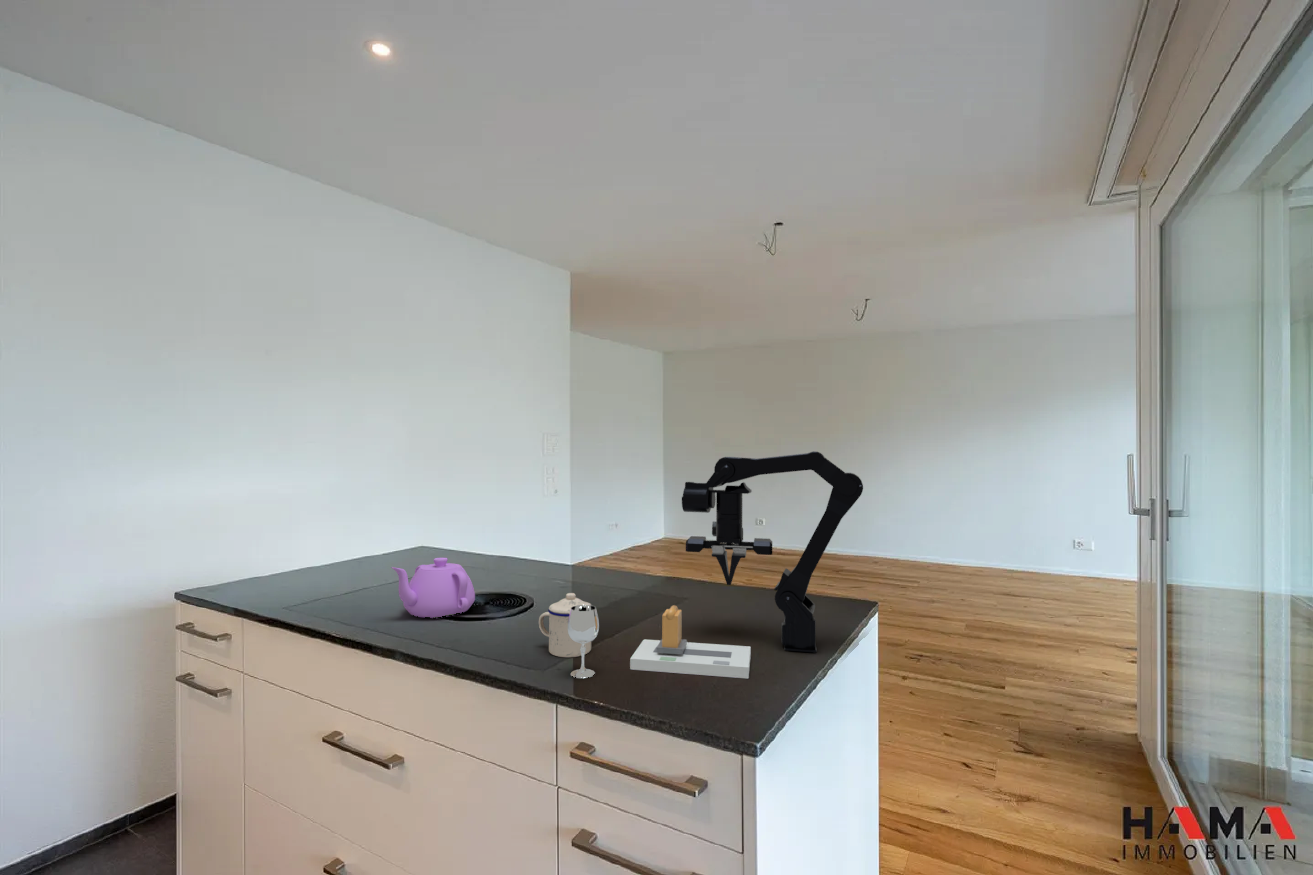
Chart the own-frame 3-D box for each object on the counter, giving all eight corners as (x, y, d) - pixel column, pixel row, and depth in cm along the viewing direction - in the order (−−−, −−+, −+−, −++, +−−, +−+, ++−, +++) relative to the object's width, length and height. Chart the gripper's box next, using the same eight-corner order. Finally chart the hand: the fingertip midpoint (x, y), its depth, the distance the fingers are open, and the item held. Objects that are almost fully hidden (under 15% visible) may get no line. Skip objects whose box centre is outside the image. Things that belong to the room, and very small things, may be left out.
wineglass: (568, 668, 110) (568, 604, 111) (598, 667, 111) (599, 603, 111) (565, 680, 105) (566, 612, 105) (598, 679, 105) (598, 611, 105)
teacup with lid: (599, 647, 123) (600, 591, 123) (578, 660, 115) (579, 600, 115) (550, 640, 127) (551, 586, 128) (526, 653, 119) (527, 595, 119)
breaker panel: (750, 656, 118) (750, 645, 118) (748, 678, 106) (748, 666, 106) (643, 648, 122) (643, 638, 122) (630, 669, 110) (630, 658, 110)
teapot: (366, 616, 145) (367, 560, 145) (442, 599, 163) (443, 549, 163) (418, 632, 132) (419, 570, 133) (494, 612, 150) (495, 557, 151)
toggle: (686, 644, 117) (686, 605, 117) (682, 654, 111) (682, 613, 112) (662, 642, 118) (662, 603, 118) (656, 652, 112) (656, 611, 113)
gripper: (772, 511, 135) (772, 579, 135) (692, 509, 139) (691, 575, 139) (772, 516, 125) (772, 589, 124) (685, 513, 128) (685, 585, 128)
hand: (729, 584), depth 129 cm, fingers closed
